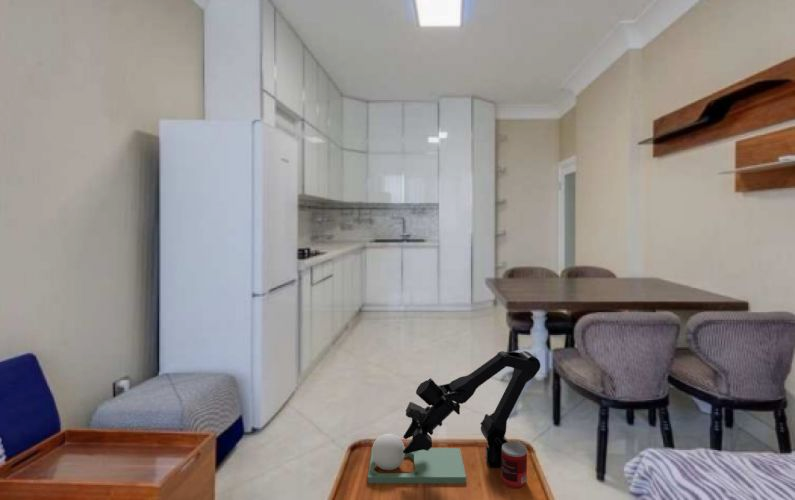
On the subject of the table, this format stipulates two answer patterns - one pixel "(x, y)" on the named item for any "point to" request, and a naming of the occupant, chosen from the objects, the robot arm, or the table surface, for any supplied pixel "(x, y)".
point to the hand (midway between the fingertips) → (404, 445)
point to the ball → (388, 451)
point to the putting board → (426, 468)
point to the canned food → (514, 464)
